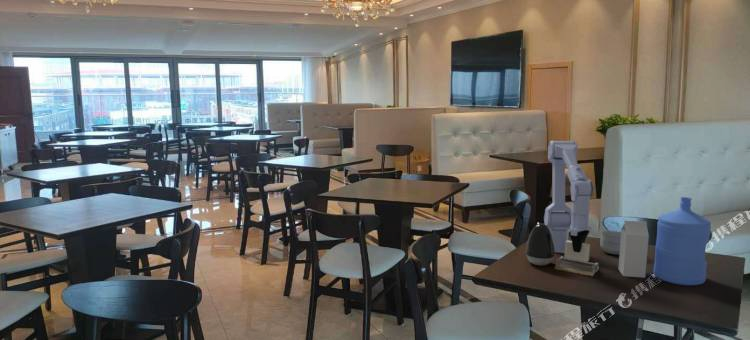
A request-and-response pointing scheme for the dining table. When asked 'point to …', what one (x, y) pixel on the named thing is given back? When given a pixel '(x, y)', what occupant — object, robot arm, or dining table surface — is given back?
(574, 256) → the door panel
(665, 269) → the water jug
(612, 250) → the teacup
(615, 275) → the dining table surface
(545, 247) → the egg shaped speaker
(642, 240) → the milk carton
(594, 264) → the door frame
